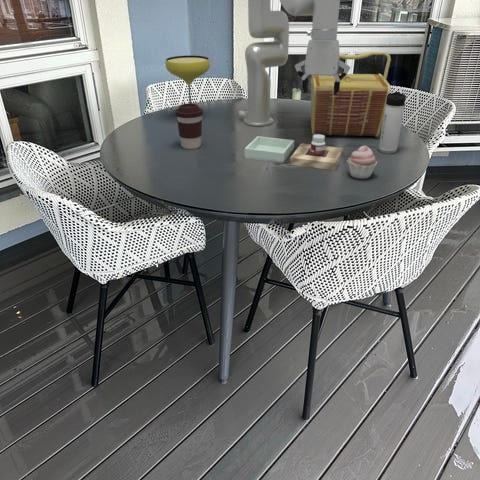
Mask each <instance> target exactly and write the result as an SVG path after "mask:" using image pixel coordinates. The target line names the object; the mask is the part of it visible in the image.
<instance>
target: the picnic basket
mask: <svg viewBox="0 0 480 480" xmlns="http://www.w3.org/2000/svg"><path fill="white" fill-rule="evenodd" d="M374 55H375V56H379V55H380V56H385V57H386V64H385V69H384V71H383V72H384V74H383V75H382V74H381V73H378V74H377V73H376V74H373V73H372V74H371V73H364V74H363V73H347V75H346V76H345V77H344V78H343V79H342V80H341V81H340V88H339V92H337V94H336V95H333V93H334V82H335V81H336V80H335V78H334V77H333V76H321V75H310V78H311V79H310V87H311V88H310V125H311V133H312V134H311V135H312V136H313V135H315V134H321V135H324V136H357V137H358V136H359V137H375V138H377V137H379V136H380V134H381V130H382V124H383V118H384V111H385V106H386V100H387V95H388V94H390V93H391V85H390V83H389V82H388V80H387V78H388V73H389V69H390V66H391V61H392V57H391V55H390V54H389V53H388V52H385V51H370V52H364V53H359V54H344V53H341V52H339V59H341V60H342V59H343V60H359V59H365V58H368V57H370V56H374ZM341 74H342V73H339V75H341Z"/></svg>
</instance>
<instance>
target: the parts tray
mask: <svg viewBox="0 0 480 480" xmlns="http://www.w3.org/2000/svg"><path fill="white" fill-rule="evenodd" d="M294 150H295V140H294V139H285V138H276V137H267V136H260V135H258V136H257V135H256V137H254V139H253V140H252V141H250V143H249V144H247V146H246V147H245V148H244V159H247V160H248V159H249V160H256V161H264V162H273V163H277V164H284V163H285V161H286V160H287V159H288V158H289V156H290V155H292V153H293V151H294Z"/></svg>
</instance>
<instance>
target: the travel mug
mask: <svg viewBox="0 0 480 480" xmlns="http://www.w3.org/2000/svg"><path fill="white" fill-rule="evenodd" d="M406 100H407V96H406V94H404V93H402V92H400V91H394V92H390V94H388V95H387V100H386V106H385V111H384V118H383V122H382V126H381V130H380V138H379V144H378V151H379V152H380V153H383V154H386V155H389V154H390V155H392V154H395V153H396V152H398V151H397V150H398V146H399V140H400V134H401V128H402V123H403V118H404V117H403V116H404V111H405V106H406Z"/></svg>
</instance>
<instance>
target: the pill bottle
mask: <svg viewBox="0 0 480 480" xmlns="http://www.w3.org/2000/svg"><path fill="white" fill-rule="evenodd" d="M325 139H326V135H321V134H315V135H312V140H311V142H310V144H311V152H310V156H318V157H324V153H325V146H326V142H325Z"/></svg>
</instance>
